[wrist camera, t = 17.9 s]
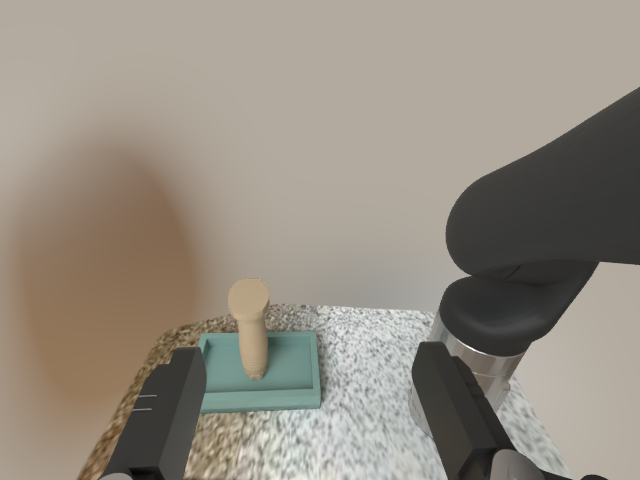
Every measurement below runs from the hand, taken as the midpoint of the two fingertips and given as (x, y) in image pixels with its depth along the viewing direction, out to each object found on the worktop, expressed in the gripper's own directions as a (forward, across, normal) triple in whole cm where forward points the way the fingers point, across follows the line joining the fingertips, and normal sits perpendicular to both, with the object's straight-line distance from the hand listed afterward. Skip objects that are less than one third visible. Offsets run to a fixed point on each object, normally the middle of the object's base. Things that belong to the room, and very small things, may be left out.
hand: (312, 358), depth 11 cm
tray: (+22, +6, +32) cm, 39 cm away
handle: (+21, +6, +31) cm, 38 cm away
